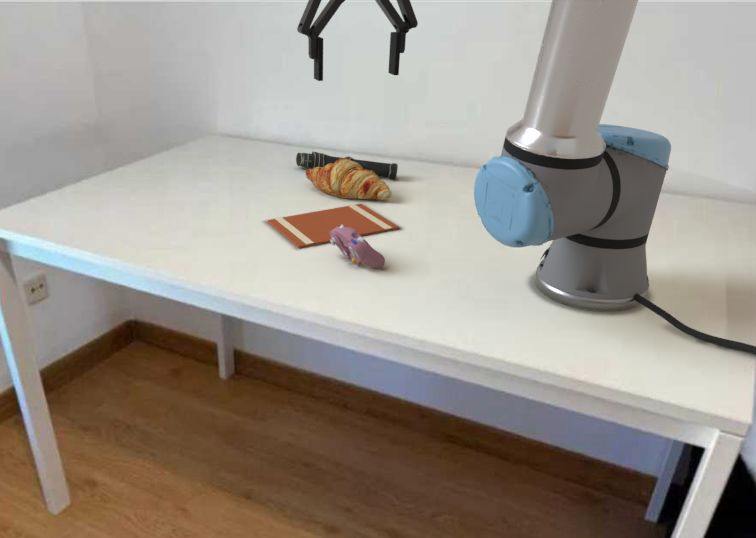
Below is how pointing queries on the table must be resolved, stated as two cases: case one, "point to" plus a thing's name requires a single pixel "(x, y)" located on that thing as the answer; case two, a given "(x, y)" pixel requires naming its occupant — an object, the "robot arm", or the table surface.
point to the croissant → (348, 181)
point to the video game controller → (356, 247)
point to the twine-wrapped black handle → (323, 159)
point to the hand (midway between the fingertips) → (356, 77)
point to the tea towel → (330, 224)
